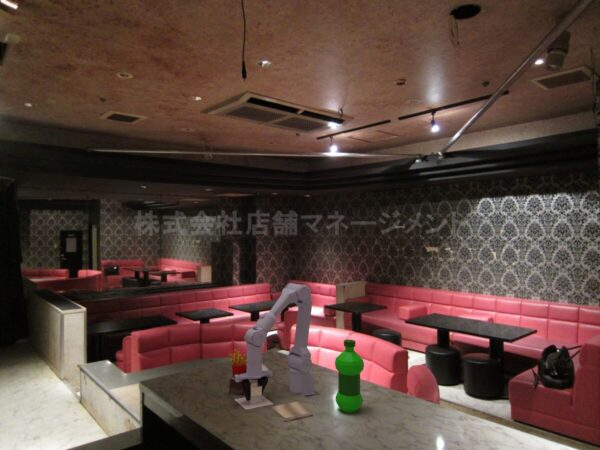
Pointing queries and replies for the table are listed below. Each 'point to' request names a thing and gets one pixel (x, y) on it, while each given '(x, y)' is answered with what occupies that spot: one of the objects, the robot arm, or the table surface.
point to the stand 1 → (247, 406)
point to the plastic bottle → (349, 378)
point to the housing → (255, 394)
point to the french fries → (238, 363)
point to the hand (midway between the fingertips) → (253, 398)
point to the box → (235, 387)
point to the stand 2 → (292, 410)
